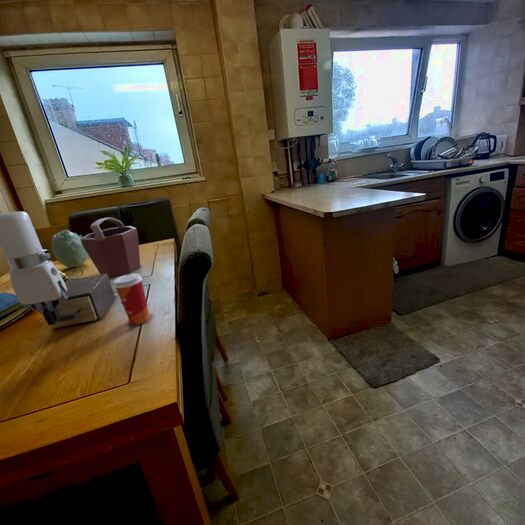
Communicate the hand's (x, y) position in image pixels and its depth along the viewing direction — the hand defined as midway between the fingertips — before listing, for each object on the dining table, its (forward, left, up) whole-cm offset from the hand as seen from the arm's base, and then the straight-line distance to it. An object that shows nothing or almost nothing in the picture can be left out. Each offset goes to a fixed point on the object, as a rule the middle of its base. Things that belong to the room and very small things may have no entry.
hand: (54, 322), depth 77 cm
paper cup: (+21, +2, -6) cm, 22 cm away
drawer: (+1, +12, -5) cm, 13 cm away
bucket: (+1, +57, -6) cm, 57 cm away
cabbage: (-26, +78, -6) cm, 82 cm away
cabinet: (+1, +16, -6) cm, 17 cm away
